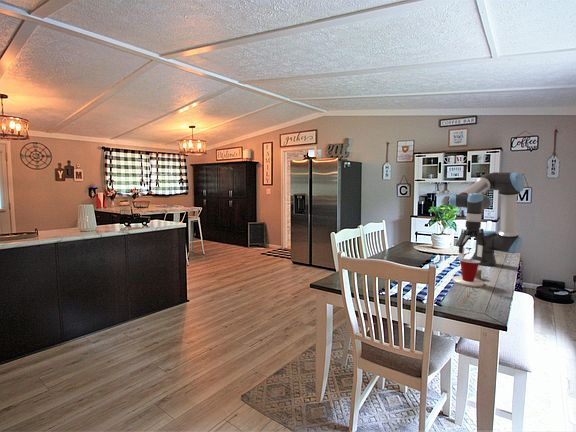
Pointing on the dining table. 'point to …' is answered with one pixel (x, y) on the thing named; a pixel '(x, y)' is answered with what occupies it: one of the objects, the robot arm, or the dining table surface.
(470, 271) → the plastic cup
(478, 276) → the walnut block
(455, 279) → the disc
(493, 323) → the dining table surface
